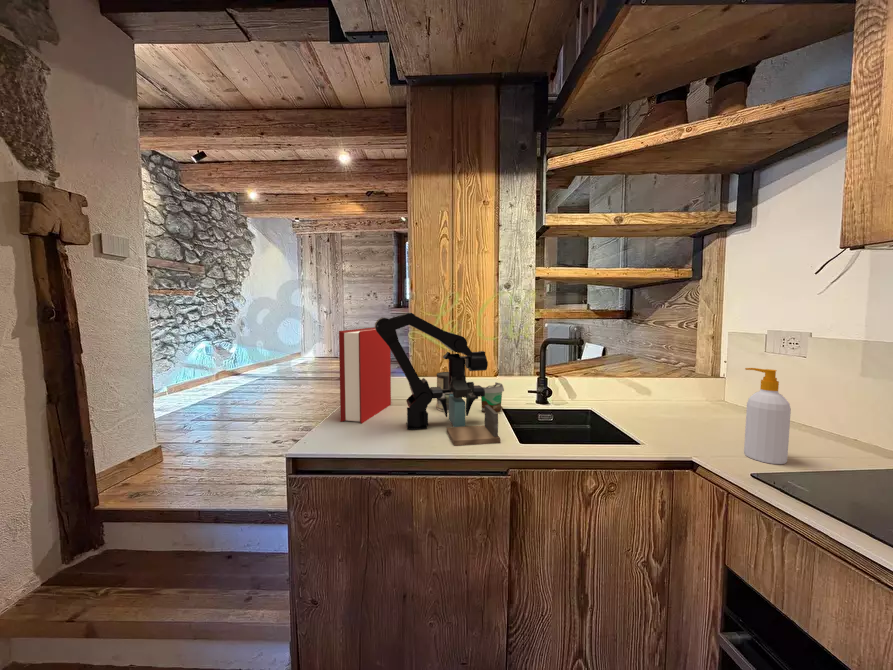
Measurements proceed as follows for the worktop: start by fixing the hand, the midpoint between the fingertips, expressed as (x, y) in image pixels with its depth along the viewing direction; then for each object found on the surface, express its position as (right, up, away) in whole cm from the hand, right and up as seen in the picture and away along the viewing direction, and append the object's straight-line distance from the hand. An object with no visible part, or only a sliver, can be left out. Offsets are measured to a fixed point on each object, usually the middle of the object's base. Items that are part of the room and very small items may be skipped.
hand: (456, 416), depth 123 cm
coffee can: (-2, -2, +19) cm, 19 cm away
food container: (+15, -2, +16) cm, 22 cm away
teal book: (0, -3, 0) cm, 3 cm away
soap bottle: (+81, -5, -28) cm, 86 cm away
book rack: (+4, -3, -13) cm, 14 cm away
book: (-33, -2, +14) cm, 36 cm away
